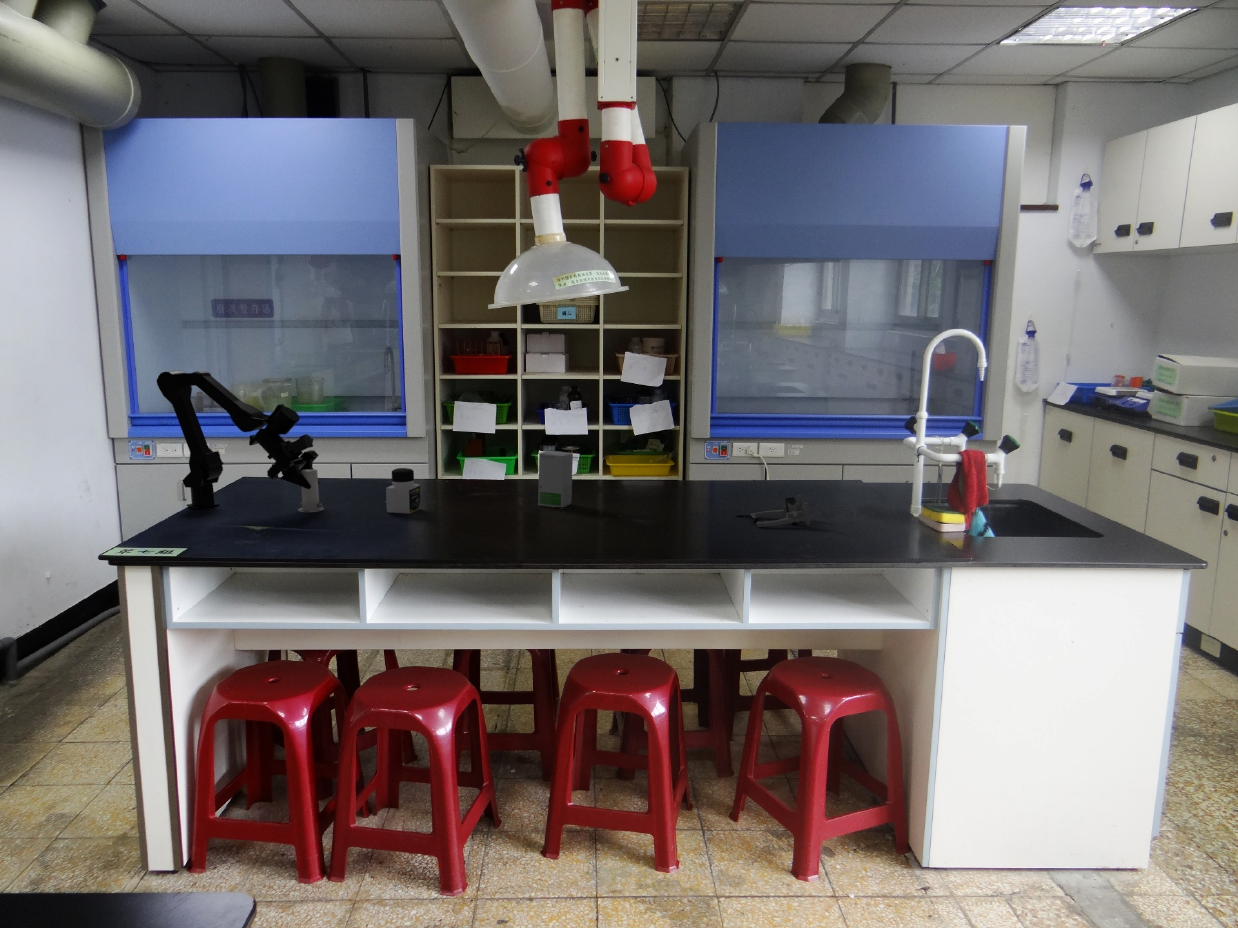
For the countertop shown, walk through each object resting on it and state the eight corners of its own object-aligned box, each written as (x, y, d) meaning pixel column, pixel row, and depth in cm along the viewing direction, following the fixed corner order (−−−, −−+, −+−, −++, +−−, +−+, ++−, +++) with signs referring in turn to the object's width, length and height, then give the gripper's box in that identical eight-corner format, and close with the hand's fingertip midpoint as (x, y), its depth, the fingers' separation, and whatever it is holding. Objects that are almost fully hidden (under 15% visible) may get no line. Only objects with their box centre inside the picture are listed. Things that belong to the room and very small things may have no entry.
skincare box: (537, 506, 254) (537, 453, 252) (547, 501, 260) (547, 450, 258) (563, 508, 251) (563, 455, 248) (573, 504, 257) (573, 451, 254)
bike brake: (805, 515, 243) (734, 524, 244) (803, 491, 241) (731, 501, 243) (815, 527, 229) (739, 537, 230) (812, 502, 228) (736, 513, 229)
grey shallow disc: (292, 513, 242) (292, 511, 242) (305, 508, 249) (305, 506, 249) (316, 514, 241) (316, 512, 241) (328, 509, 248) (328, 507, 248)
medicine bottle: (410, 514, 243) (408, 471, 241) (386, 512, 244) (384, 470, 242) (421, 508, 250) (419, 467, 248) (397, 507, 251) (396, 466, 249)
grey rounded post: (296, 510, 243) (294, 471, 241) (304, 507, 247) (302, 468, 246) (317, 511, 242) (315, 472, 240) (325, 508, 246) (323, 469, 245)
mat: (230, 523, 230) (230, 522, 230) (271, 515, 240) (271, 514, 240) (258, 530, 223) (258, 529, 223) (298, 521, 233) (298, 520, 233)
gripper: (275, 430, 232) (315, 473, 233) (310, 422, 250) (348, 461, 251) (249, 458, 235) (290, 500, 235) (286, 448, 253) (323, 487, 253)
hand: (314, 486), depth 243 cm, fingers closed on grey rounded post, 4 cm apart
